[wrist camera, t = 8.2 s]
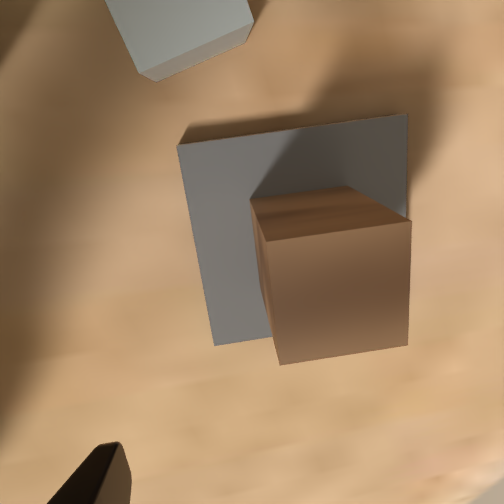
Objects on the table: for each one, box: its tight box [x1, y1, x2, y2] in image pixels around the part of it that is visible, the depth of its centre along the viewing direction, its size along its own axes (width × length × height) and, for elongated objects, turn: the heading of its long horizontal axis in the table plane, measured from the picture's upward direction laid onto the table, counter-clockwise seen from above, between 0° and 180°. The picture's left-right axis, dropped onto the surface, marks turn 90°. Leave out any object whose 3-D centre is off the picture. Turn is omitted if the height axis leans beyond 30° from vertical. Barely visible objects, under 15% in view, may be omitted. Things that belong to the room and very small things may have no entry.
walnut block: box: [249, 186, 412, 365], centre depth 15 cm, size 4×4×6 cm
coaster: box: [177, 114, 408, 346], centre depth 18 cm, size 10×10×1 cm
